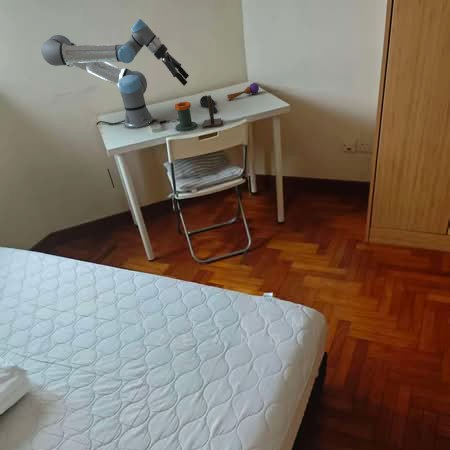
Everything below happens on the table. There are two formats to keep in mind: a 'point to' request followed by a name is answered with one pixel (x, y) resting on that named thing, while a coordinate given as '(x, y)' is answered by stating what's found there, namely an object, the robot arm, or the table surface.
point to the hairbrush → (205, 103)
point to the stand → (185, 121)
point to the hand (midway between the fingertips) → (186, 80)
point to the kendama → (245, 91)
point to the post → (211, 116)
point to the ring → (182, 106)
